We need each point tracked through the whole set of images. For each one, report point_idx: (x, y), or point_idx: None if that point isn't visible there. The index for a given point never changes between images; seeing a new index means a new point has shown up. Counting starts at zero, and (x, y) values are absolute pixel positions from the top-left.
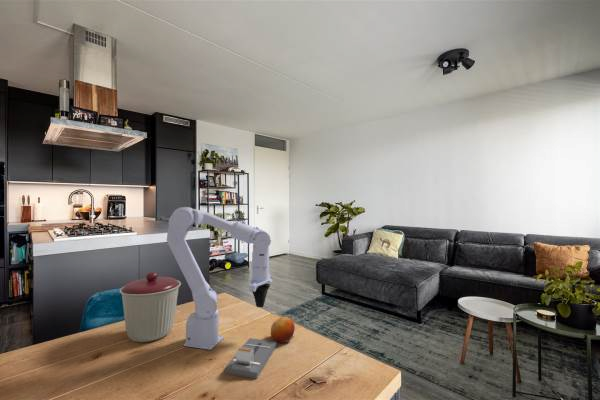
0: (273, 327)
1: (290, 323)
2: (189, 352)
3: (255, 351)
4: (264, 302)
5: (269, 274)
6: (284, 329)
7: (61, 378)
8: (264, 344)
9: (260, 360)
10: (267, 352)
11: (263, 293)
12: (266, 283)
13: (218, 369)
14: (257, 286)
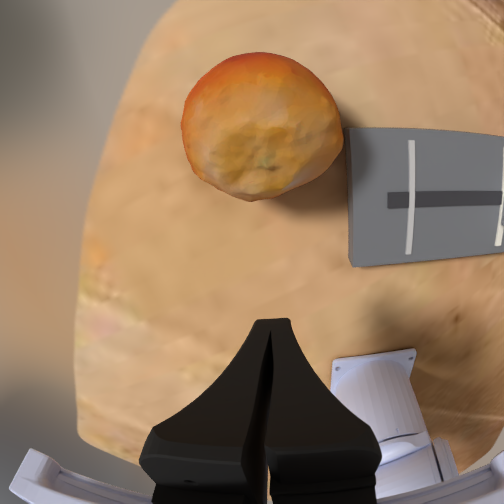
0: (321, 167)
1: (279, 59)
2: (424, 381)
3: (452, 192)
4: (252, 332)
5: (23, 499)
6: (325, 89)
7: (475, 446)
8: (390, 177)
9: (490, 151)
10: (444, 140)
11: (343, 406)
12: (156, 479)
13: (498, 269)
14: (493, 491)
